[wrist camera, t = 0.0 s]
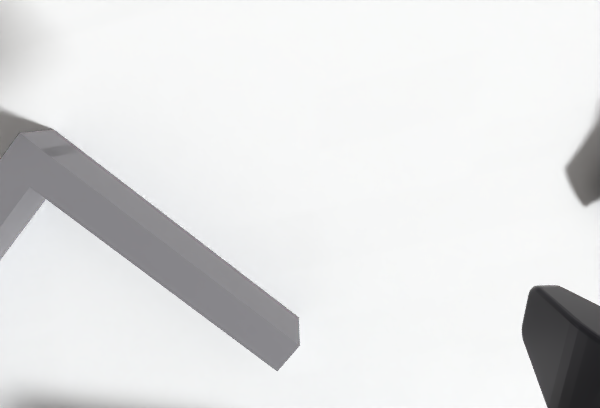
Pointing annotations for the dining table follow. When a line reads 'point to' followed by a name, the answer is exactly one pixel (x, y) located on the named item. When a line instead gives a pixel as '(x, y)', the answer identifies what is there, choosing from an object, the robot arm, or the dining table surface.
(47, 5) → the dining table surface
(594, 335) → the robot arm
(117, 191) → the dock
